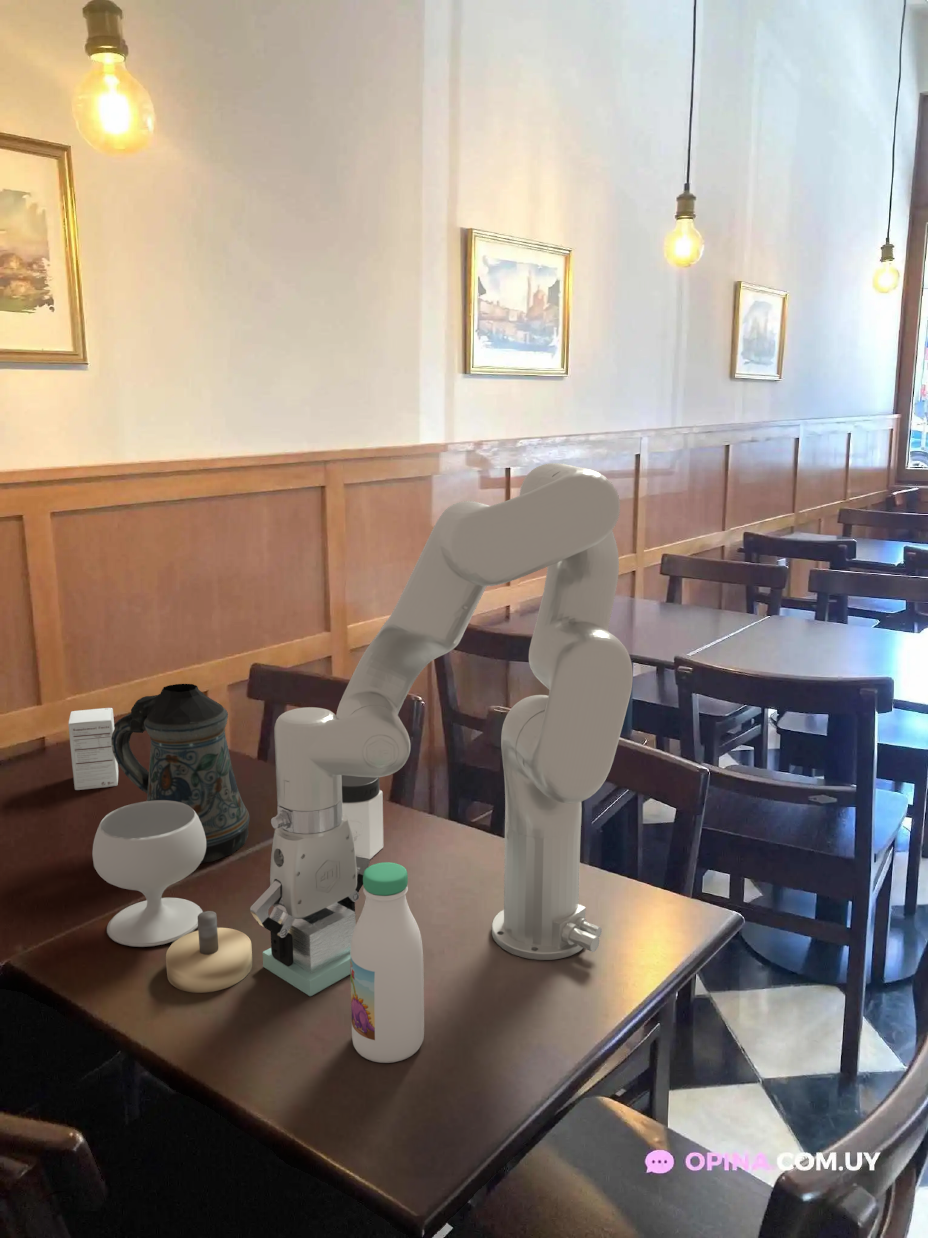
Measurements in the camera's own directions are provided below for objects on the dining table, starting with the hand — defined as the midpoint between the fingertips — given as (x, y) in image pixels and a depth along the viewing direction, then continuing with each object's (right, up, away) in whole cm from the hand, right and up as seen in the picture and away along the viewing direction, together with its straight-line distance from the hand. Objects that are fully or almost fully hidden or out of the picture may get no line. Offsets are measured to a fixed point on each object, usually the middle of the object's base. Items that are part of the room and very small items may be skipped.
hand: (315, 944), depth 118 cm
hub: (-13, -3, 0) cm, 13 cm away
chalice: (-22, -1, +10) cm, 25 cm away
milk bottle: (+10, -6, -13) cm, 18 cm away
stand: (0, -3, +1) cm, 3 cm away
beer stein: (-25, +4, +33) cm, 42 cm away
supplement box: (-48, +10, +58) cm, 76 cm away
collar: (0, -1, 0) cm, 1 cm away
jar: (+1, +4, +31) cm, 31 cm away
